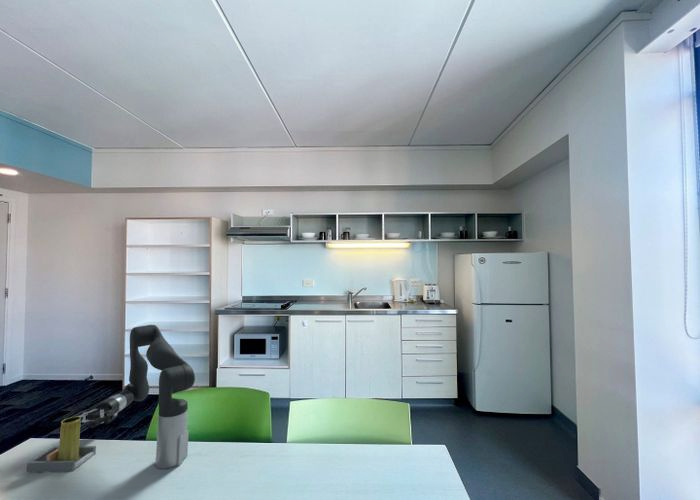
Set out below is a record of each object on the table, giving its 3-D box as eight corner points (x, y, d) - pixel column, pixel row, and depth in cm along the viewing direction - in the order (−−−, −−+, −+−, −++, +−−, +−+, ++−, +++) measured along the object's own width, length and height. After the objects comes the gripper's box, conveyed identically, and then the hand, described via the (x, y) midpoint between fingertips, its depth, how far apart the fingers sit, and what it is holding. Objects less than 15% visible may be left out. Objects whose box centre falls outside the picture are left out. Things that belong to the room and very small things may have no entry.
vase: (83, 456, 111) (87, 416, 112) (66, 467, 105) (69, 424, 106) (69, 455, 111) (72, 415, 113) (50, 465, 105) (54, 423, 107)
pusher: (67, 455, 111) (68, 444, 112) (49, 467, 104) (50, 455, 105) (64, 455, 111) (65, 444, 112) (45, 467, 104) (46, 455, 104)
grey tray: (95, 454, 113) (96, 445, 113) (72, 471, 103) (73, 462, 103) (53, 454, 112) (54, 446, 113) (26, 472, 102) (27, 463, 103)
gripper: (94, 397, 131) (61, 415, 114) (128, 397, 131) (100, 415, 115) (93, 415, 130) (59, 436, 114) (127, 415, 131) (98, 435, 115)
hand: (79, 425), depth 115 cm, fingers open, 8 cm apart
